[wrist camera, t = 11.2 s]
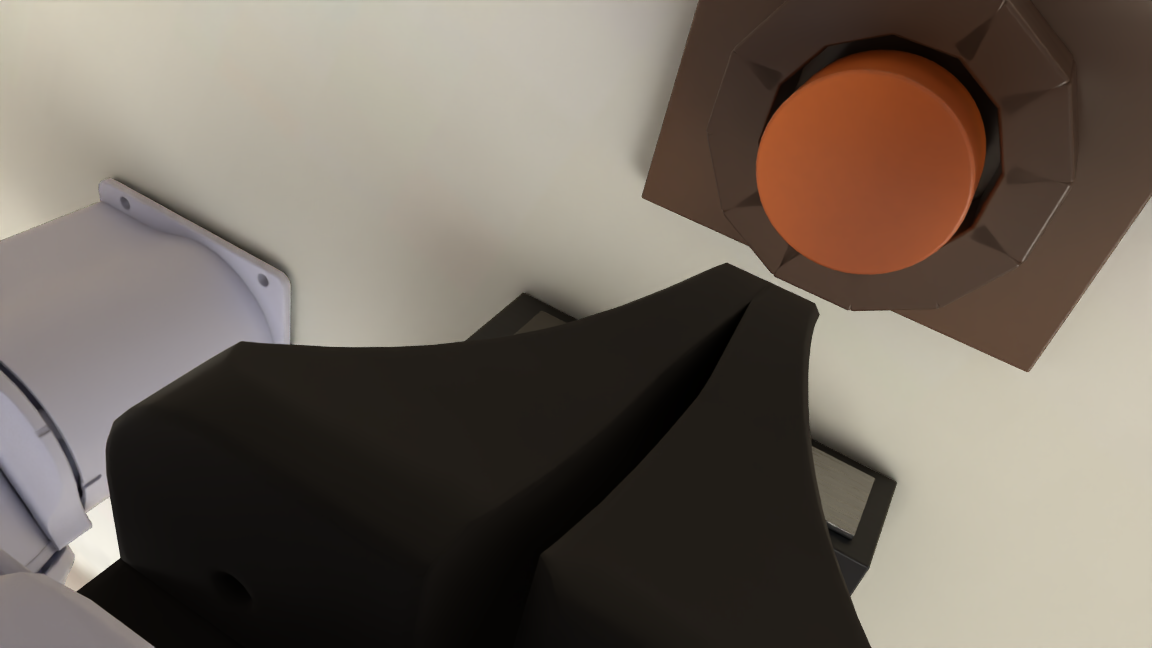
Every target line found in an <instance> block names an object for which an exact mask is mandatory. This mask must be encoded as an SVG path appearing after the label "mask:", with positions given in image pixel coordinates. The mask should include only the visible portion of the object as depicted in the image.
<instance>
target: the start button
mask: <svg viewBox="0 0 1152 648" xmlns="http://www.w3.org/2000/svg"><path fill="white" fill-rule="evenodd" d="M985 156H986V135H985V129H984V124H983V121H982V117H981V114H980V111H979V109H978V107H977V105H976V103H975V101H974V99H973V98H972V96H971V95H970V93H969V92H968V90H967V89H966V88H965V87H964V86H963V84H962V83H961V82H960V81H959V80H958V79H957V78H956V77H955V76H954V75H952V74H951V73H950V72H949V71H948V70H946V69H945V68H943V67H942V66H940V65H938V64H937V63H935V62H933V61H931V60H929V59H927V58H924V57H922V56H919V55H916V54H912V53H909V52H904V51H897V50H870V51H863V52H859V53H855V54H851V55H848V56H845V57H843V58H840V59H838V60H836V61H834V62H832V63H830V64H828V65H827V66H825V67H824V68H822V69H821V70H819V71H818V72H817V73H815V74H814V75H813V76H812V77H811V78H810V79H809V80H807V81H806V82H805V83H804V84H803V85H802V86H801V87H800V88H799V89H797V90H796V91H795V92H794V93H793V94H792V95H791V96H790V97H789V98H788V99H787V100H785V101H784V102H783V103H782V105H781V106H780V107H779V108H778V109H777V111H776V112H775V113H774V114H773V116H772V118H771V119H770V121H769V123H768V124H767V126H766V128H765V131H764V133H763V135H762V137H761V141H760V144H759V148H758V153H757V159H756V180H757V188H758V192H759V196H760V200H761V203H762V205H763V208H764V210H765V213H766V215H767V216H768V218H769V220H770V222H771V224H772V225H773V226H774V228H775V229H776V231H777V232H778V233H779V234H780V236H781V237H782V238H783V239H784V240H785V241H786V242H787V243H788V244H789V245H790V246H791V247H793V248H794V249H795V250H796V251H797V252H799V253H800V254H802V255H803V256H805V257H806V258H808V259H810V260H812V261H813V262H815V263H817V264H819V265H822V266H825V267H827V268H830V269H833V270H837V271H841V272H845V273H852V274H869V275H872V274H882V273H889V272H893V271H898V270H901V269H904V268H907V267H910V266H913V265H915V264H917V263H919V262H921V261H923V260H925V259H926V258H928V257H929V256H931V255H932V254H934V253H935V252H937V251H938V250H939V249H940V248H941V247H942V246H943V245H945V244H946V243H947V242H948V241H949V240H950V238H951V237H952V236H953V235H954V234H955V233H956V231H957V230H958V228H959V227H960V225H961V224H962V222H963V221H964V219H965V216H966V214H967V212H968V210H969V208H970V205H971V202H972V200H973V197H974V194H975V192H976V189H977V186H978V183H979V181H980V178H981V174H982V171H983V168H984V163H985Z"/></svg>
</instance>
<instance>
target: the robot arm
mask: <svg viewBox="0 0 1152 648" xmlns="http://www.w3.org/2000/svg"><path fill="white" fill-rule="evenodd" d="M99 195H100V201H99V202H97V203H94V204H92V205H89V206H87V207H84V208H82V209H79V210H77V211H74V212H72V213H69V214H67V215H64V216H61V217H59V218H56V219H54V220H51V221H49V222H46V223H44V224H41V225H39V226H36V227H34V228H31V229H28V230H26V231H23V232H21V233H18V234H16V235H13V236H11V237H8V238H6V239H3V240H1V241H0V648H871V646H870V644H869V642H868V639H867V637H866V635H865V633H864V630H863V628H862V626H861V623H860V621H859V619H858V617H857V614H856V611H855V608H854V606H853V603H852V600H851V597H850V594H849V591H848V589H847V586H846V583H845V580H844V577H843V575H842V572H841V569H840V566H839V563H838V560H837V558H836V555H835V552H834V549H833V546H832V542H831V538H830V535H829V531H828V527H827V523H826V520H825V516H824V512H823V508H822V503H821V498H820V494H819V489H818V484H817V479H816V473H815V467H814V460H813V453H812V444H811V435H810V425H809V408H808V370H809V356H810V347H811V340H812V334H813V330H814V326H815V323H816V321H817V319H818V317H819V312H818V309H817V307H816V304H815V303H813V302H811V301H809V300H807V299H804V298H802V297H800V296H798V295H796V294H794V293H792V292H789V291H787V290H785V289H783V288H781V287H779V286H776V285H774V284H772V283H770V282H768V281H766V280H763V279H761V278H759V277H757V276H755V275H753V274H750V273H748V272H746V271H744V270H742V269H740V268H737V267H735V266H733V265H731V264H729V263H725V264H722V265H719V266H716V267H714V268H711V269H709V270H707V271H704V272H702V273H700V274H698V275H696V276H693V277H691V278H689V279H687V280H684V281H682V282H680V283H677V284H675V285H673V286H670V287H668V288H666V289H663V290H661V291H658V292H656V293H653V294H651V295H648V296H646V297H643V298H640V299H638V300H635V301H633V302H630V303H628V304H625V305H622V306H619V307H617V308H614V309H611V310H607V311H604V312H601V313H598V314H595V315H592V316H589V317H585V318H582V319H579V320H576V321H573V322H569V323H566V324H562V325H558V326H554V327H550V328H545V329H541V330H536V331H530V332H525V333H520V334H515V335H510V336H504V337H498V338H490V339H481V340H472V341H463V342H455V343H446V344H437V345H424V346H403V347H323V346H306V345H290V322H291V284H290V281H289V279H288V277H287V276H286V275H285V274H284V273H283V272H282V271H280V270H278V269H276V268H275V267H273V266H271V265H269V264H267V263H265V262H264V261H262V260H260V259H258V258H256V257H255V256H253V255H251V254H249V253H247V252H245V251H244V250H242V249H240V248H238V247H236V246H235V245H233V244H231V243H229V242H227V241H225V240H224V239H222V238H220V237H218V236H216V235H215V234H213V233H211V232H209V231H207V230H205V229H204V228H202V227H200V226H198V225H196V224H195V223H193V222H191V221H189V220H187V219H185V218H184V217H182V216H180V215H178V214H176V213H175V212H173V211H171V210H169V209H167V208H165V207H164V206H162V205H160V204H158V203H156V202H154V201H153V200H151V199H149V198H147V197H145V196H144V195H142V194H140V193H138V192H136V191H134V190H133V189H131V188H129V187H127V186H125V185H124V184H122V183H120V182H118V181H116V180H114V179H112V178H107V179H105V180H102V181H100V183H99ZM109 497H110V499H111V505H112V511H113V517H114V522H115V528H116V534H117V540H118V546H119V551H120V557H121V558H120V559H119V560H117V561H116V562H115V563H113V564H112V565H111V566H109V567H108V568H107V569H106V570H104V571H103V572H102V573H100V574H99V575H98V576H96V577H95V578H94V579H92V580H91V581H90V582H88V583H87V584H86V585H84V586H83V587H82V588H81V589H79V590H78V591H77V592H76V591H74V590H72V589H70V588H68V587H66V586H65V585H64V584H65V581H66V578H67V575H68V573H69V572H70V570H71V568H72V566H73V563H74V558H75V556H74V553H73V551H72V550H71V548H70V547H69V545H68V544H69V543H70V542H72V541H73V540H75V539H76V538H78V537H79V536H80V535H82V534H83V533H85V532H86V531H87V530H89V529H90V528H92V523H91V521H90V520H89V518H88V516H87V515H86V513H87V512H88V511H90V510H91V509H93V508H94V507H96V506H97V505H99V504H100V503H101V502H103V501H104V500H106V499H107V498H109Z"/></svg>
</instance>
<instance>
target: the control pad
mask: <svg viewBox="0 0 1152 648" xmlns="http://www.w3.org/2000/svg"><path fill="white" fill-rule="evenodd" d="M870 50H897V51H904V52H909V53H912V54H916V55H919V56H922V57H924V58H927V59H929V60H931V61H933V62H935V63H937V64H938V65H940V66H942V67H943V68H945V69H946V70H948V71H949V72H950V73H951V74H952V75H954V76H955V77H956V78H957V79H958V80H959V81H960V82H961V83H962V84H963V86H964V87H965V88H966V89H967V90H968V92H969V93H970V95H971V96H972V98H973V99H974V101H975V103H976V105H977V107H978V109H979V111H980V114H981V117H982V121H983V124H984V129H985V135H986V156H985V163H984V168H983V171H982V174H981V178H980V181H979V183H978V186H977V189H976V192H975V194H974V197H973V200H972V202H971V205H970V208H969V210H968V212H967V214H966V216H965V219H964V221H963V222H962V224H961V225H960V227H959V228H958V230H957V231H956V233H955V234H954V235H953V236H952V237H951V238H950V240H949V241H948V242H947V243H946V244H945V245H943V246H942V247H941V248H940V249H939V250H938V251H937V252H935V253H934V254H932V255H931V256H929V257H928V258H926V259H925V260H923V261H921V262H919V263H917V264H915V265H913V266H910V267H907V268H904V269H901V270H898V271H893V272H889V273H882V274H872V275H869V274H852V273H845V272H841V271H837V270H833V269H830V268H827V267H825V266H822V265H819V264H817V263H815V262H813V261H812V260H810V259H808V258H806V257H805V256H803V255H802V254H800V253H799V252H797V251H796V250H795V249H794V248H793V247H791V246H790V245H789V244H788V243H787V242H786V241H785V240H784V239H783V238H782V237H781V236H780V234H779V233H778V232H777V231H776V229H775V228H774V226H773V225H772V224H771V222H770V220H769V218H768V216H767V215H766V213H765V210H764V208H763V205H762V203H761V200H760V196H759V192H758V188H757V180H756V159H757V153H758V148H759V144H760V141H761V137H762V135H763V133H764V131H765V128H766V126H767V124H768V123H769V121H770V119H771V118H772V116H773V114H774V113H775V112H776V111H777V109H778V108H779V107H780V106H781V105H782V103H783V102H784V101H785V100H787V99H788V98H789V97H790V96H791V95H792V94H793V93H794V92H795V91H796V90H797V89H799V88H800V87H801V86H802V85H803V84H804V83H805V82H806V81H807V80H809V79H810V78H811V77H812V76H813V75H814V74H815V73H817V72H818V71H819V70H821V69H822V68H824V67H825V66H827V65H828V64H830V63H832V62H834V61H836V60H838V59H840V58H843V57H845V56H848V55H851V54H855V53H859V52H863V51H870ZM1151 196H1152V0H699V1H698V4H697V8H696V11H695V15H694V18H693V22H692V25H691V28H690V32H689V35H688V39H687V42H686V46H685V49H684V52H683V56H682V59H681V63H680V66H679V70H678V73H677V77H676V80H675V83H674V87H673V90H672V94H671V97H670V101H669V104H668V108H667V111H666V114H665V118H664V121H663V125H662V128H661V132H660V135H659V138H658V142H657V145H656V149H655V152H654V156H653V159H652V163H651V166H650V169H649V173H648V176H647V180H646V183H645V187H644V190H643V193H642V198H644V199H646V200H648V201H650V202H652V203H655V204H657V205H659V206H661V207H663V208H666V209H668V210H670V211H672V212H675V213H677V214H679V215H681V216H683V217H686V218H688V219H690V220H692V221H694V222H697V223H699V224H701V225H703V226H705V227H708V228H710V229H712V230H714V231H716V232H719V233H721V234H723V235H725V236H728V237H730V238H732V239H734V240H736V241H739V242H741V243H743V244H745V245H747V246H750V248H751V249H752V250H753V251H754V253H755V254H756V255H757V256H758V258H759V259H760V260H761V261H762V262H763V264H764V265H765V266H766V267H767V269H768V270H769V271H770V272H771V273H772V274H774V276H775V277H777V278H779V279H781V280H783V281H785V282H787V283H790V284H792V285H794V286H796V287H798V288H801V289H803V290H805V291H807V292H809V293H811V294H814V295H816V296H818V297H820V298H822V299H825V300H827V301H829V302H831V303H833V304H835V305H838V306H840V307H842V308H844V309H846V310H850V309H851V311H875V310H891V311H893V312H895V313H898V314H900V315H902V316H904V317H906V318H909V319H911V320H913V321H915V322H917V323H920V324H922V325H924V326H926V327H928V328H931V329H933V330H935V331H937V332H940V333H942V334H944V335H946V336H948V337H951V338H953V339H955V340H957V341H959V342H962V343H964V344H966V345H968V346H970V347H973V348H975V349H977V350H979V351H981V352H984V353H986V354H988V355H990V356H993V357H995V358H997V359H999V360H1001V361H1004V362H1006V363H1008V364H1010V365H1012V366H1015V367H1017V368H1019V369H1021V370H1023V371H1026V372H1029V371H1030V370H1031V369H1032V367H1033V366H1034V364H1035V363H1036V361H1037V360H1038V359H1039V357H1040V356H1041V354H1042V353H1043V351H1044V350H1045V349H1046V347H1047V346H1048V344H1049V343H1050V341H1051V340H1052V338H1053V337H1054V336H1055V334H1056V333H1057V331H1058V330H1059V328H1060V327H1061V326H1062V324H1063V323H1064V321H1065V320H1066V318H1067V317H1068V315H1069V314H1070V313H1071V311H1072V310H1073V308H1074V307H1075V305H1076V304H1077V303H1078V301H1079V300H1080V298H1081V297H1082V295H1083V294H1084V292H1085V291H1086V290H1087V288H1088V287H1089V285H1090V284H1091V282H1092V281H1093V280H1094V278H1095V277H1096V275H1097V274H1098V272H1099V271H1100V269H1101V268H1102V267H1103V265H1104V264H1105V262H1106V261H1107V259H1108V258H1109V257H1110V255H1111V254H1112V252H1113V251H1114V249H1115V248H1116V246H1117V245H1118V244H1119V242H1120V241H1121V239H1122V238H1123V236H1124V235H1125V234H1126V232H1127V231H1128V229H1129V228H1130V226H1131V225H1132V223H1133V222H1134V221H1135V219H1136V218H1137V216H1138V215H1139V213H1140V212H1141V211H1142V209H1143V208H1144V206H1145V205H1146V203H1147V202H1148V200H1149V199H1150V198H1151Z"/></svg>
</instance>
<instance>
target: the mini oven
mask: <svg viewBox="0 0 1152 648" xmlns="http://www.w3.org/2000/svg"><path fill="white" fill-rule="evenodd" d="M576 320H577V319H575V318H573V317H571V316H569V315H567V314H565V313H563V312H561V311H559V310H557V309H555V308H553V307H551V306H549V305H547V304H545V303H543V302H541V301H539V300H537V299H535V298H534V297H532V296H530V295H528V294H526V293H522V294H521V295H520V296H519V297H517V298H516V299H515V300H514V301H513V302H511V303H510V304H509V305H508V306H507V307H505V308H504V309H503V310H502V311H501V312H499V313H498V314H497V315H496V316H495V317H493V318H492V319H491V320H490V321H488V322H487V323H486V324H485V325H484V326H482V327H481V328H480V329H479V330H478V331H476V332H475V333H474V334H473V335H472V336H470V337H469V338H468V339H467V340H465V341H472V340H481V339H490V338H498V337H504V336H510V335H515V334H520V333H525V332H530V331H536V330H541V329H545V328H550V327H554V326H558V325H562V324H566V323H569V322H573V321H576ZM811 444H812V453H813V460H814V467H815V473H816V479H817V484H818V489H819V494H820V498H821V503H822V508H823V512H824V516H825V520H826V523H827V527H828V531H829V535H830V538H831V542H832V546H833V549H834V552H835V555H836V558H837V560H838V563H839V566H840V569H841V572H842V575H843V577H844V580H845V583H846V586H847V589H848V591H849V594H850V596H851V595H852V593H853V592H854V590H855V589H856V587H857V586H858V584H859V583H860V581H861V580H862V578H863V577H864V575H865V574H866V572H867V571H868V569H869V567H870V564H871V561H872V558H873V555H874V552H875V549H876V546H877V543H878V540H879V537H880V534H881V531H882V527H883V524H884V521H885V518H886V515H887V512H888V509H889V506H890V503H891V500H892V497H893V494H894V491H895V488H896V484H897V482H896V481H894V480H892V479H890V478H888V477H886V476H884V475H882V474H880V473H878V472H876V471H874V470H872V469H870V468H868V467H866V466H864V465H862V464H860V463H858V462H856V461H854V460H852V459H850V458H849V457H847V456H845V455H843V454H841V453H839V452H837V451H835V450H833V449H831V448H829V447H827V446H825V445H823V444H821V443H819V442H817V441H815V440H813V439H811Z"/></svg>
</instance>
